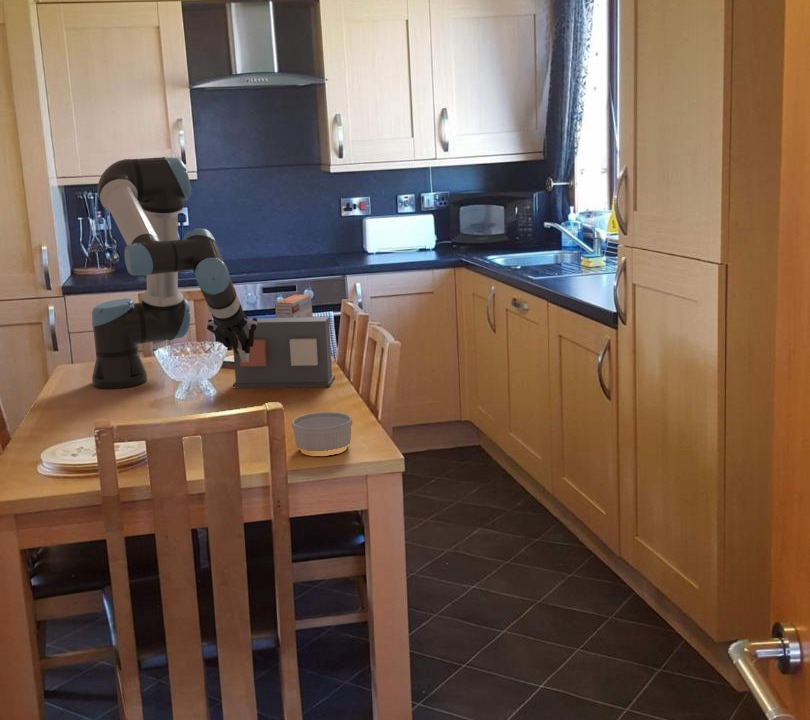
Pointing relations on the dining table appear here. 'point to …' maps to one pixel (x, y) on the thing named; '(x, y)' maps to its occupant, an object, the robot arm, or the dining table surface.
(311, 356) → the cream button
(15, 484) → the dining table surface
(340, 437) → the ramekin
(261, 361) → the brick button
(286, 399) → the dining table surface
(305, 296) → the cracker box
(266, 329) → the box
